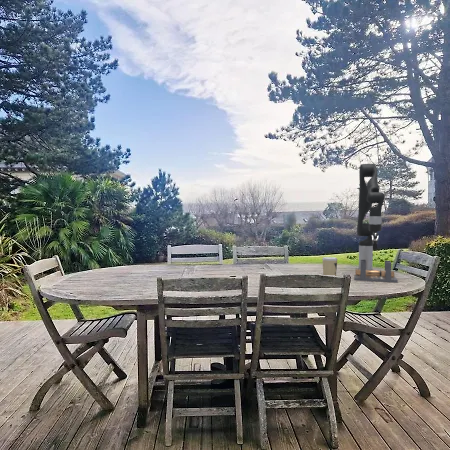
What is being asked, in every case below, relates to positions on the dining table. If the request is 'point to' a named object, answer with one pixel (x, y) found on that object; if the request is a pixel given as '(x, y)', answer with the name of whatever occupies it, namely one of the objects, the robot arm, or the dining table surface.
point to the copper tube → (374, 273)
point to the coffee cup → (329, 265)
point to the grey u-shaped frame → (376, 278)
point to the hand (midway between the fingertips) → (374, 248)
